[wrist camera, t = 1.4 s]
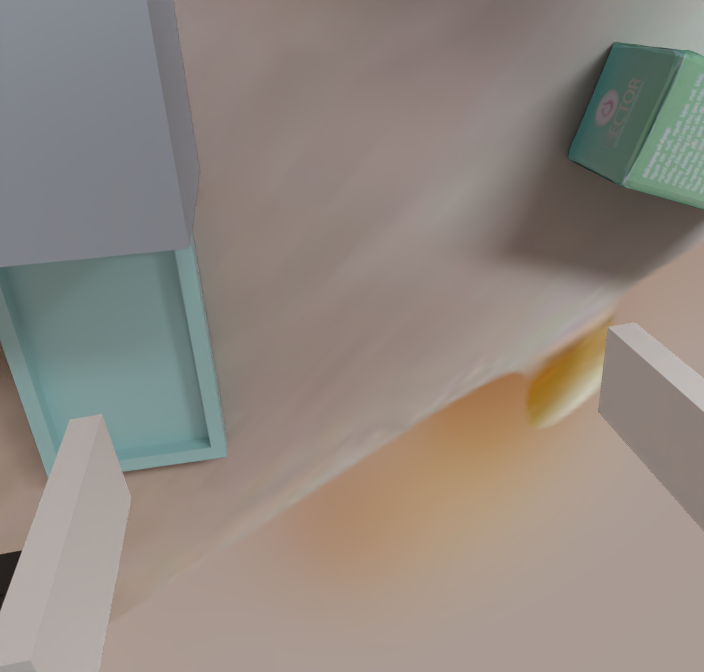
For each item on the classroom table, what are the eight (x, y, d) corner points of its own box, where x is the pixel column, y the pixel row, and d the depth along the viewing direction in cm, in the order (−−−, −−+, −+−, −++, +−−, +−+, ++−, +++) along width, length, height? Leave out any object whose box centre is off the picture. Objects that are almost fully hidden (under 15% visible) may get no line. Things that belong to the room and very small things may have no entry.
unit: (-83, -18, 31) (-255, -24, 20) (168, -29, 33) (140, -40, 22) (-14, 198, 37) (-120, 290, 25) (200, 180, 38) (191, 259, 27)
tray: (-21, 234, 37) (-33, 246, 36) (189, 214, 39) (187, 225, 37) (56, 463, 46) (49, 482, 44) (227, 439, 47) (227, 456, 45)
